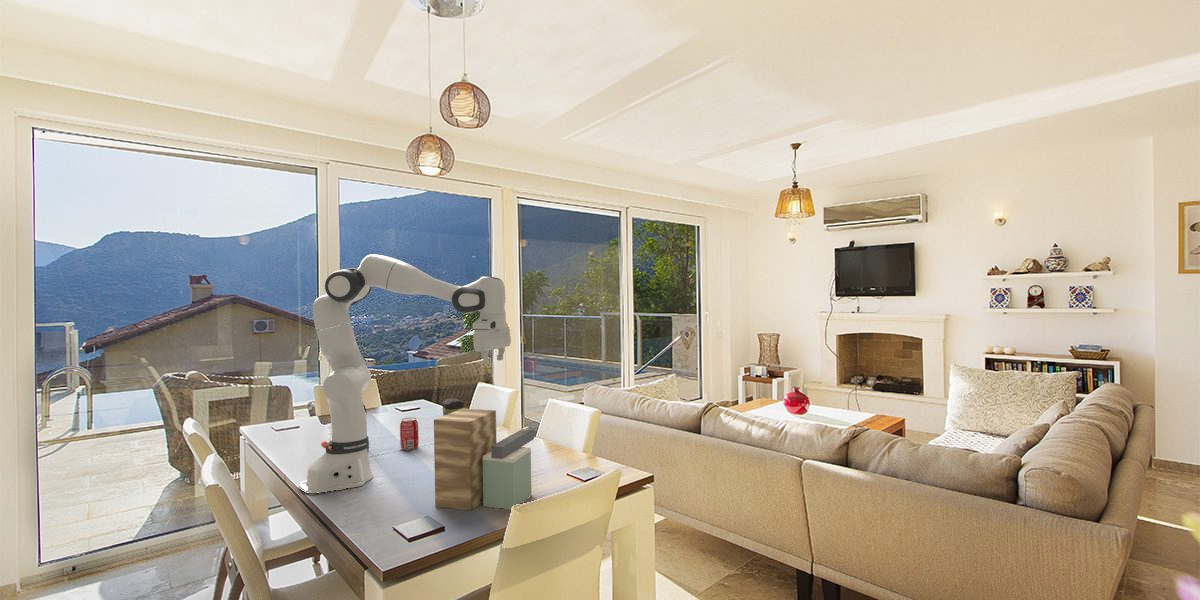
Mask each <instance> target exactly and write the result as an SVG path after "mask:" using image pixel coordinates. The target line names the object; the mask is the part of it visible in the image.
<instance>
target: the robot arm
mask: <svg viewBox="0 0 1200 600" xmlns="http://www.w3.org/2000/svg"><path fill="white" fill-rule="evenodd" d="M372 287H375V288H380V289H383V290H385V291H388V292H391V293H396V294H401V295H411V296H412V295H414V296H415V295H424V296H425V295H426V296H431V297H434V298H438V299H439V300H444V301H447V302H449V303H452V306H453V308H454V309H455V310H456V311H457V312H459V313H461V314H465V315H466V314H474V313H477V312H479V317H478V319H476V320H475V321H474V322H473V323H472V329H473V335H472V337H473V339H472V340H473V342H472V344H473V349H474V351H475V352H480V354H481V357H482V360H483V364H484V365H489V364H490V363H491V358H490V357H489V353H490V351H493V350H498V352H497V355H496V360H497V361H504V354H505V351H506V348H508V347H510V346H511V342H512V339H511V330H510V327H509V325H508V323H507V320H506V318H507V317H506V316H507V315H506V309H505V305H506V289H505V284H504V281H503V280H502V279H501V278H499V277H496V276H490V275H489V276H488V275H483V276H481V277H480V278H479V279H477V280H475V281H473V282H471V283H469V284H465V285H457V284H453V283H450V282H447V281H444V280H441V279H437V278H435V277H432V276H431V275H429V274H428V273H426V272H424V271H422V270H420V269H419V268H418V267H415V266H414V265H411V264H410V263H407V262H404V261H402V260H399V259H397V258H395V257H394V258H393V257H390V256H385V255H382V254H368V255H366V256H365V257H364V258H363V259H362V260H361V262H360V265H359V267H358V268H356V267H350V268H346V269H345V268H344V269H339V270H336V271H334V272H332V273H331V274H329V275H328V276H327V278H326V279H325V283H324V290H325V292H326V294H324V295H320V296H319V297H317V298H316V299H315V300H314V301H313V303H312V315H313V323H314V329H315V332H316V336H317V339H318V343H319V347H320V351H321V353H322V355H323V356H324V358H326V359H325V360H327V363H328V365H329V366H330V368H331V370H332V371H331V372H330V373H329V374H327V377H326V378H325V379H324V381H323V384H322V392H323V394H324V397H325V398H326V401H327V405H328V409H329V410H328V411H329V414H330V421H331V422H330V423H331V424H330V425H331V428H330V430H331V440H329V441H328V442H327V441H326V440H324V441H322V442H321V443H320V446H321V447H322V448H323V449H325V453H323V454H322V455H321V456H320V457H318V458H317V459H316V460H315V461H314V462H313V463H311V465H310V466H309V467H308V470H307V473H306V479H304V480H302V481H301V482H300V483H299V485H298V487H299V486H300V488H301V489H302V490H304V491H306V492H309V493H317V492H325V493H327V492H326V491H331V492H334V490H336V491H340V490H341V491H342V490H347V489H346V488H348V489H352V488H358V487H363V485H364V484H365V483H367V482H369V481H371V480H372V479H373V477H374V474H373V472H372V467H371V465H370V464H371V463H370V459H369V450H370V440H369V436H368V425H367V424H368V419H367V418H368V417H367V416H368V414H366V412H365V410H364V406H365V405H364V406H363V404H364V401H363V397H362V394H363V392H364V391H366V390H367V389H368V387H369V385H370V384H371V380H372V373H371V371H370V369H369V368H368V367H367V364H366V362H365V359H364V357H363V355H362V353H361V351H360V348H359V346H358V344H357V343H358V342H357V340H356V336H355V331H354V328H353V325H352V321H351V318H350V313H349V310H350V309H349V308H350V306H353V305H355V304H357V303H358V302H360V301H362V300H364V299H366V297H367V296H369V295H370V293H371V291H372ZM300 488H299V489H300Z"/></svg>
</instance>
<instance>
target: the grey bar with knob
mask: <svg viewBox="0 0 1200 600" xmlns="http://www.w3.org/2000/svg"><path fill="white" fill-rule="evenodd" d="M534 439H535V428H530V426H524V427H523V428H521V429H519V430H518V431H516V432H515V433H512V434H510V435H509V436H507V437H505V438H503V439H502V440H499V441H497V442H496V444H494V445H492V446H491V458H498V459H503V458H504V457H506V456H508V455H509V454H511V453H512V452H514V451H516V450H517V449H519V448H521V447H525V446H526V445H527V444H528V443H530V442H532V441H533V440H534Z"/></svg>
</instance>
